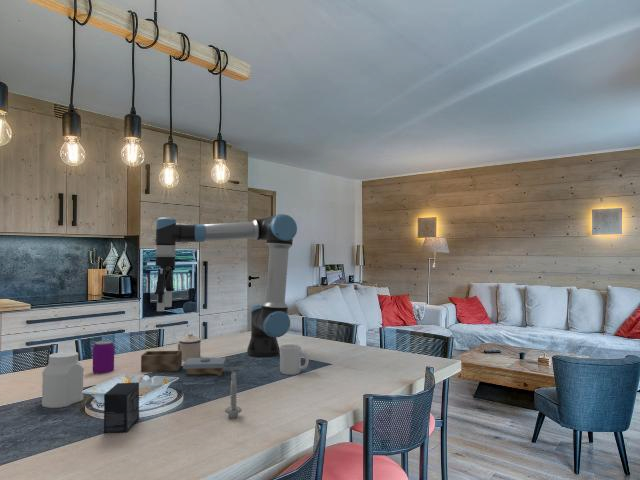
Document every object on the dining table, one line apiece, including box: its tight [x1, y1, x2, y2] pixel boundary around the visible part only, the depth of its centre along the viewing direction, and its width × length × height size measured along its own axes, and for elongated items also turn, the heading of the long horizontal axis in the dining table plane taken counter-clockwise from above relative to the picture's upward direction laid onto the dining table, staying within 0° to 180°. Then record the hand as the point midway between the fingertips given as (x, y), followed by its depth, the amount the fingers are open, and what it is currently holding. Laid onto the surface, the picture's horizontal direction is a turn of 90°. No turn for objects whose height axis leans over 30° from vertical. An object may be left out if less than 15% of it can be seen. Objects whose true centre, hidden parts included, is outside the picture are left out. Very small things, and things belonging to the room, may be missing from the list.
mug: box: [279, 344, 310, 376], centre depth 183 cm, size 12×8×10 cm
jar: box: [41, 351, 85, 409], centre depth 146 cm, size 12×10×15 cm
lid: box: [182, 356, 227, 370], centre depth 180 cm, size 15×10×2 cm
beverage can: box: [92, 340, 115, 375], centre depth 181 cm, size 8×8×12 cm
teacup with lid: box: [177, 333, 202, 362], centre depth 203 cm, size 12×9×12 cm
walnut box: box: [140, 350, 183, 373], centre depth 185 cm, size 14×8×7 cm, turn 96°
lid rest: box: [186, 367, 224, 377], centre depth 180 cm, size 13×6×4 cm, turn 96°
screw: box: [224, 371, 242, 420], centre depth 134 cm, size 13×5×5 cm
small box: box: [103, 382, 140, 434], centre depth 127 cm, size 11×6×10 cm, turn 5°
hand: (164, 309), depth 185 cm, fingers open, 13 cm apart
